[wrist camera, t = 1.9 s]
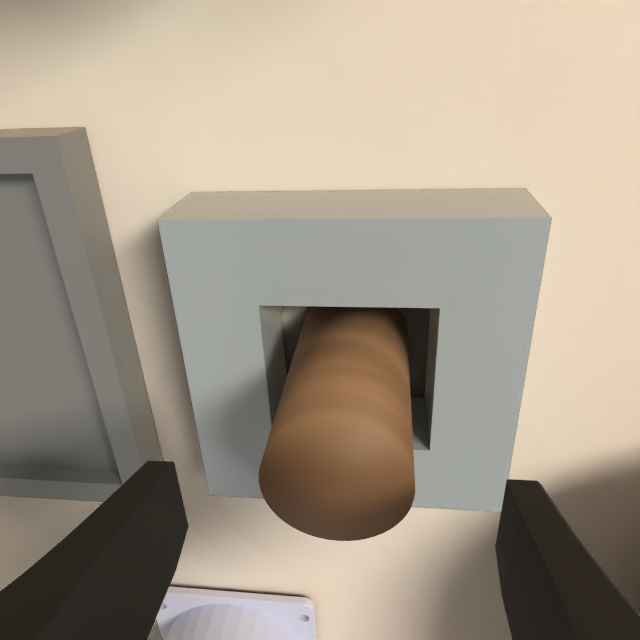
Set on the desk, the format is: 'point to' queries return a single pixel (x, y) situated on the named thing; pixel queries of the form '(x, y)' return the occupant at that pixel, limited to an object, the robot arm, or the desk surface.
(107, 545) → the robot arm
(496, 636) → the desk surface
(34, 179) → the tray
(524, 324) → the square hole block
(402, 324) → the dowel
